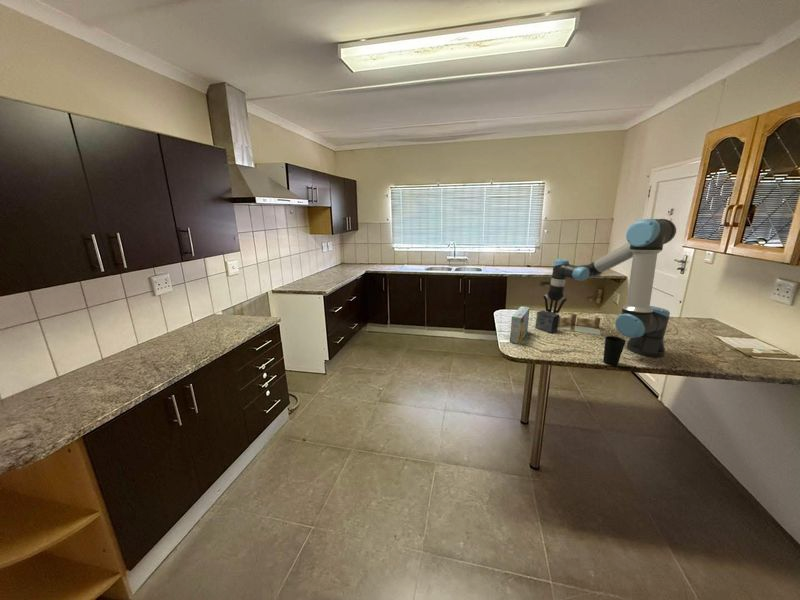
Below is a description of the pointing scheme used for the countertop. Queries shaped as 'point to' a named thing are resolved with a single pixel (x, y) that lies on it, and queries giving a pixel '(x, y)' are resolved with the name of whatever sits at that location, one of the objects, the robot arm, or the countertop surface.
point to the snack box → (519, 324)
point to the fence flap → (564, 321)
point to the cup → (613, 350)
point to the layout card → (580, 329)
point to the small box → (547, 321)
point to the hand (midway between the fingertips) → (550, 322)
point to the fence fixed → (585, 321)
